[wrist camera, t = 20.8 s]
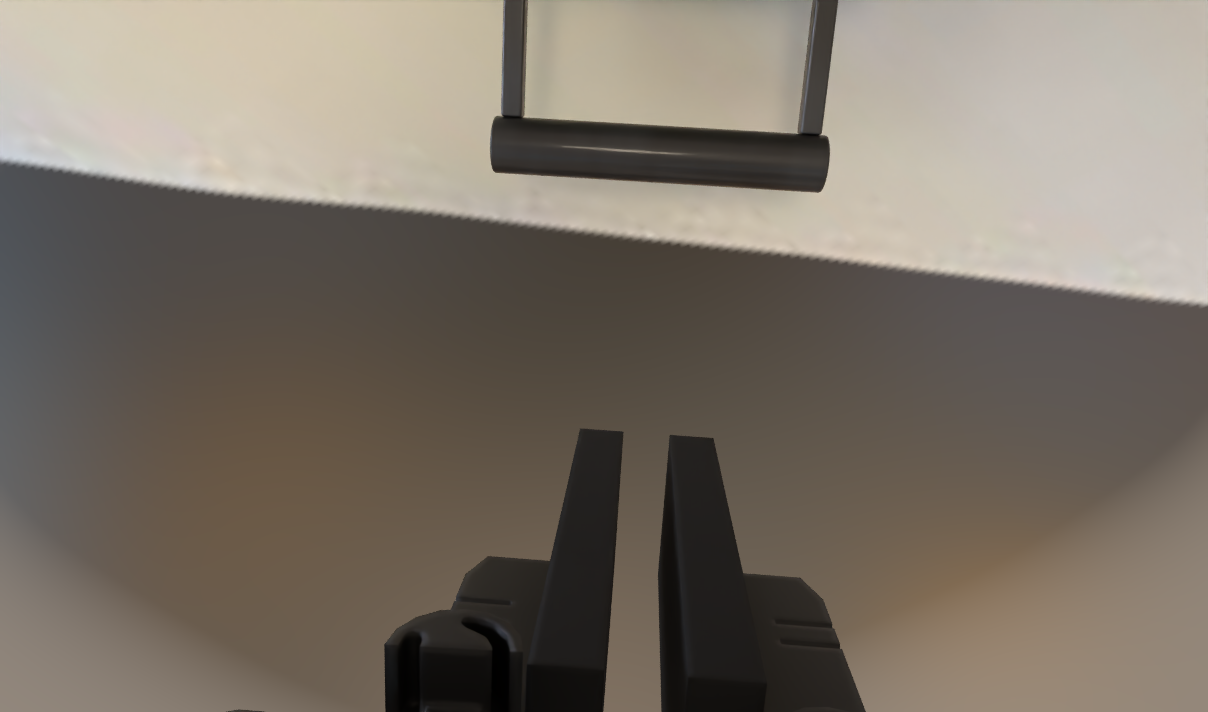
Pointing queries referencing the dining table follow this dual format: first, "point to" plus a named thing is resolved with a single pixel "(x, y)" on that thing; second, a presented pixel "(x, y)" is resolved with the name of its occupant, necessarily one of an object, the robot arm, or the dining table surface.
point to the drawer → (664, 132)
